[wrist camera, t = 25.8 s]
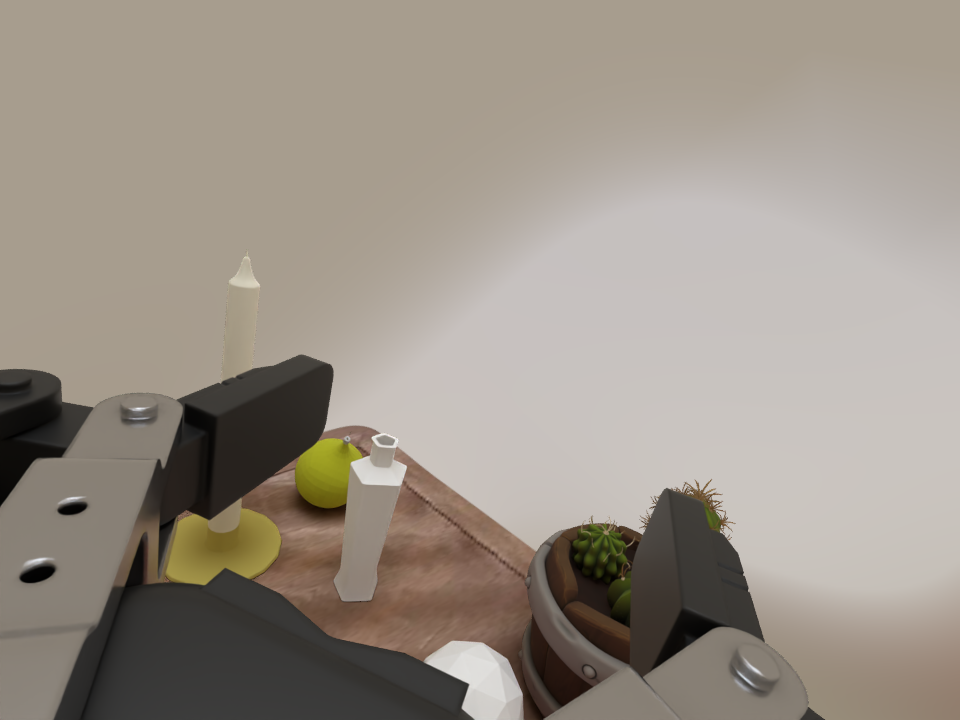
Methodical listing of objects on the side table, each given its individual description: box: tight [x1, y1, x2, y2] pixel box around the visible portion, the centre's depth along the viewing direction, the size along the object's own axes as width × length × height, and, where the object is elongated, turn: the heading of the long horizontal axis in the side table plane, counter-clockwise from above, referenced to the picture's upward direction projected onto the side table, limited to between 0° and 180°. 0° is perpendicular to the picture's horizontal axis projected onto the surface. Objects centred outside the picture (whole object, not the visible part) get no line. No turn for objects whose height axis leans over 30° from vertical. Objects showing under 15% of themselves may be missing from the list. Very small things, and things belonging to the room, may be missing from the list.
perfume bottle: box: [334, 433, 407, 601], centre depth 42 cm, size 5×4×15 cm
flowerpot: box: [518, 480, 733, 719], centre depth 37 cm, size 14×15×20 cm
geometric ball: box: [424, 641, 524, 720], centre depth 33 cm, size 8×8×8 cm
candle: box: [165, 250, 282, 585], centre depth 41 cm, size 10×10×27 cm
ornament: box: [295, 432, 363, 508], centre depth 53 cm, size 7×7×10 cm
